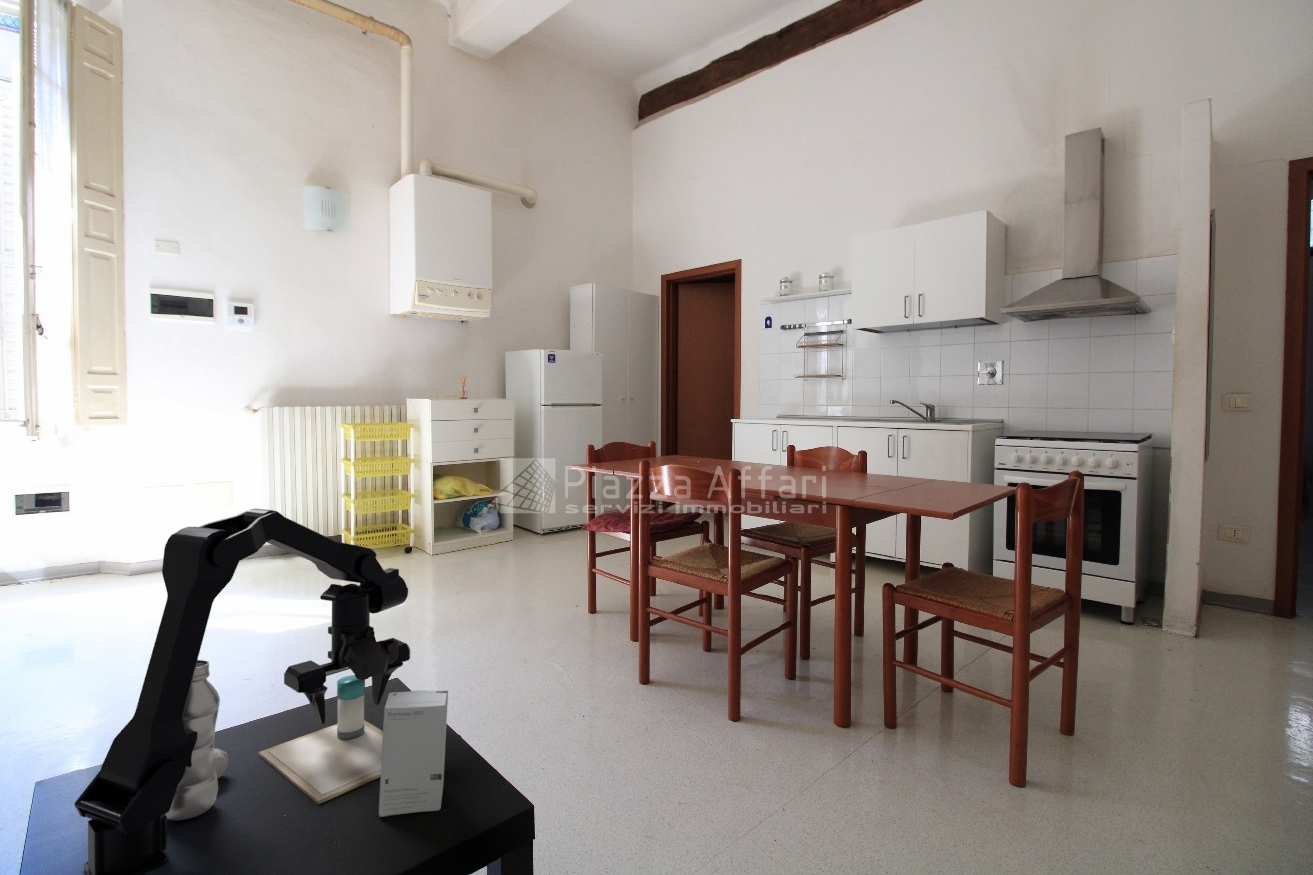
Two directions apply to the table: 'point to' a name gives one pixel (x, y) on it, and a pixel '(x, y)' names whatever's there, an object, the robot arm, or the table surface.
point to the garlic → (220, 761)
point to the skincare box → (413, 752)
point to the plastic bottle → (198, 749)
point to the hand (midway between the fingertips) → (350, 713)
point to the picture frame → (328, 761)
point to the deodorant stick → (350, 707)
